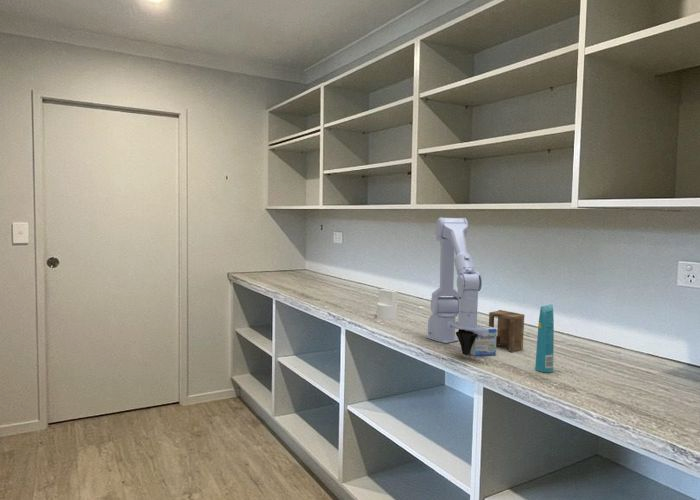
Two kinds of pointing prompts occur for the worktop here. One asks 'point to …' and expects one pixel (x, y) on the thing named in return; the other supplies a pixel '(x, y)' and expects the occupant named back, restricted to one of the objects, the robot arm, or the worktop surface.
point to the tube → (545, 340)
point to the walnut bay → (508, 329)
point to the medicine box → (485, 344)
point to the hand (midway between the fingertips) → (466, 354)
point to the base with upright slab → (387, 305)
